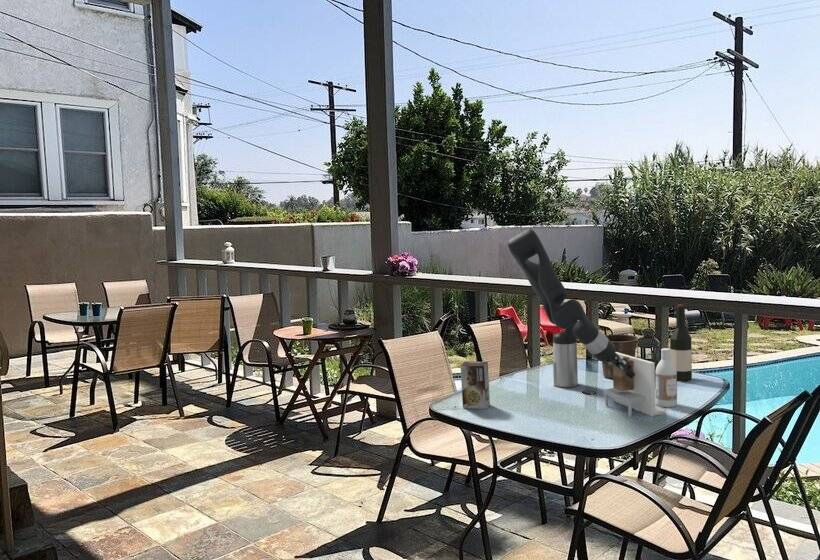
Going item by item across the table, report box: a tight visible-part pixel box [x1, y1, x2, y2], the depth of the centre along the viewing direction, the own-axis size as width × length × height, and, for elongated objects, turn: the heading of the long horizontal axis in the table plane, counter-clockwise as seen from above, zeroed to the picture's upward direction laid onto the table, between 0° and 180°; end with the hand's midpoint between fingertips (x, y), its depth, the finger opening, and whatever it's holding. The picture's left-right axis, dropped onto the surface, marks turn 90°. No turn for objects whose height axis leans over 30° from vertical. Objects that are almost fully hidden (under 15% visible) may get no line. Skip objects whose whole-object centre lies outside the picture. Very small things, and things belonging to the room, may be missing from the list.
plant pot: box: [601, 334, 639, 380], centre depth 280 cm, size 16×16×16 cm
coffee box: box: [459, 361, 491, 410], centre depth 249 cm, size 9×6×16 cm
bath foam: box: [655, 347, 678, 408], centre depth 238 cm, size 7×7×20 cm
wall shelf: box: [603, 352, 666, 417], centre depth 237 cm, size 12×20×18 cm, turn 20°
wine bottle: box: [669, 304, 693, 383], centre depth 270 cm, size 8×8×30 cm
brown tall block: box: [612, 356, 634, 391], centre depth 235 cm, size 5×5×11 cm
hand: (628, 374), depth 236 cm, fingers closed on brown tall block, 4 cm apart
